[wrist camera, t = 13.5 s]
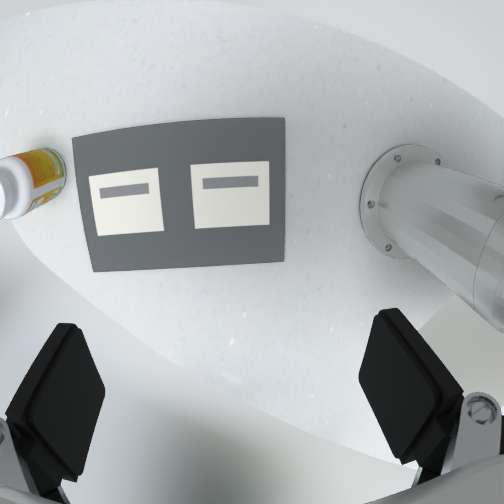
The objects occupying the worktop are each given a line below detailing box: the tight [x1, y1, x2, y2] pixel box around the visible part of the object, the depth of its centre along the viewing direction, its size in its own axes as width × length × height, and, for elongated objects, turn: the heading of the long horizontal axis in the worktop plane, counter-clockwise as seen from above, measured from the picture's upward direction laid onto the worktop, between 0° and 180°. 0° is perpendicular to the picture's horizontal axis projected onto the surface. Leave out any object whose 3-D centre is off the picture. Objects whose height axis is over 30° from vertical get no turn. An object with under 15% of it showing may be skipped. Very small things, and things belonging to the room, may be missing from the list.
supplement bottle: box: [0, 149, 66, 220], centre depth 20 cm, size 5×5×10 cm
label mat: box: [72, 118, 285, 272], centre depth 27 cm, size 20×14×1 cm
